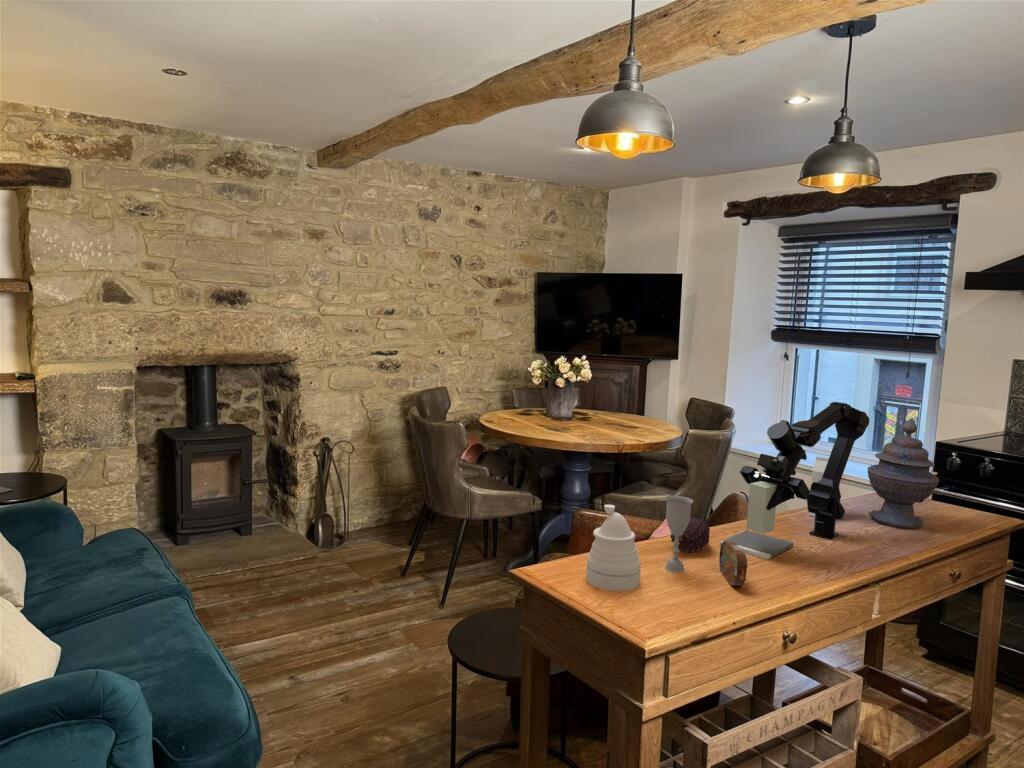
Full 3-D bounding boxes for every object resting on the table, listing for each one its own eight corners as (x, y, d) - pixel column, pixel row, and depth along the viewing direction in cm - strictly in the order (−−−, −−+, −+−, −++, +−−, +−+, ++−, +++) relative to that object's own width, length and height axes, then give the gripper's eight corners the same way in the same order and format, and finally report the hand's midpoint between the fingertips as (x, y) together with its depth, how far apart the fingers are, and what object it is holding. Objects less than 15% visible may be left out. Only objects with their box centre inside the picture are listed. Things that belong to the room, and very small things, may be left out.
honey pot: (575, 580, 169) (578, 507, 167) (604, 566, 179) (608, 497, 177) (621, 596, 161) (625, 519, 159) (649, 580, 171) (653, 508, 169)
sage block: (758, 525, 194) (761, 481, 192) (773, 530, 190) (777, 485, 188) (746, 528, 191) (749, 483, 189) (762, 533, 187) (766, 487, 185)
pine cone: (683, 536, 204) (704, 510, 201) (707, 561, 197) (729, 535, 195) (652, 533, 191) (675, 506, 188) (677, 560, 184) (701, 532, 182)
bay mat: (746, 533, 208) (746, 530, 208) (793, 546, 199) (793, 542, 198) (719, 545, 197) (719, 542, 197) (767, 559, 187) (768, 555, 187)
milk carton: (831, 520, 224) (836, 462, 222) (808, 515, 228) (813, 458, 226) (836, 515, 230) (842, 458, 227) (814, 511, 234) (818, 454, 232)
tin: (717, 567, 180) (719, 535, 180) (729, 568, 180) (732, 536, 179) (733, 591, 166) (736, 557, 165) (747, 592, 165) (750, 557, 164)
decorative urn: (844, 512, 230) (864, 409, 225) (889, 512, 237) (909, 412, 233) (897, 535, 212) (920, 423, 207) (943, 534, 219) (966, 425, 214)
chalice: (655, 565, 180) (659, 496, 178) (677, 562, 183) (681, 494, 181) (672, 575, 174) (676, 504, 172) (694, 572, 176) (699, 502, 174)
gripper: (746, 437, 197) (718, 480, 192) (807, 450, 182) (778, 497, 177) (761, 461, 203) (734, 504, 198) (821, 476, 188) (794, 522, 183)
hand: (758, 506), depth 189 cm, fingers closed on sage block, 5 cm apart
